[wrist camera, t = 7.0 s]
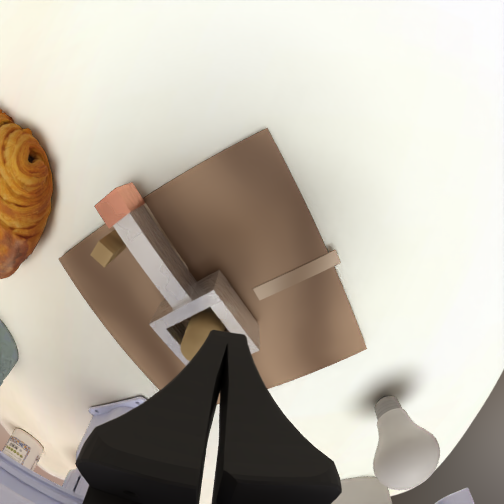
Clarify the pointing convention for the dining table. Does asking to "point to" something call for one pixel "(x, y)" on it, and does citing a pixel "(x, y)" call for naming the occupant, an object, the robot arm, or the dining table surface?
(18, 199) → the croissant
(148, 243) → the square frame with handle
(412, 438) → the lightbulb
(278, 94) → the dining table surface
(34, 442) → the bath foam
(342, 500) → the lumpy-topped squat cylinder
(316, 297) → the socket base
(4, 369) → the embossed teal cup
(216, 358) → the robot arm
